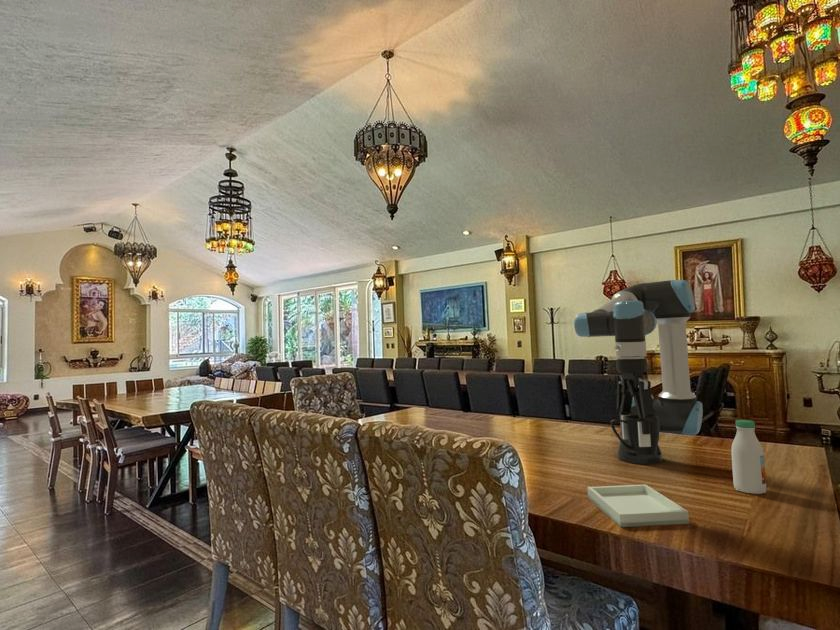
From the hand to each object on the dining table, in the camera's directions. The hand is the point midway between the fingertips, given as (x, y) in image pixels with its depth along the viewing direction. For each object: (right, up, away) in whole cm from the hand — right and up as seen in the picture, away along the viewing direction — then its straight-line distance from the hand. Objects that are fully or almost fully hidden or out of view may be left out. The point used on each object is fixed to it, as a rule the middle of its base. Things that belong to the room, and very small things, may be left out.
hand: (636, 442), depth 120 cm
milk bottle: (+38, -17, +10) cm, 43 cm away
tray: (-1, -18, -1) cm, 18 cm away
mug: (0, -3, 0) cm, 3 cm away
